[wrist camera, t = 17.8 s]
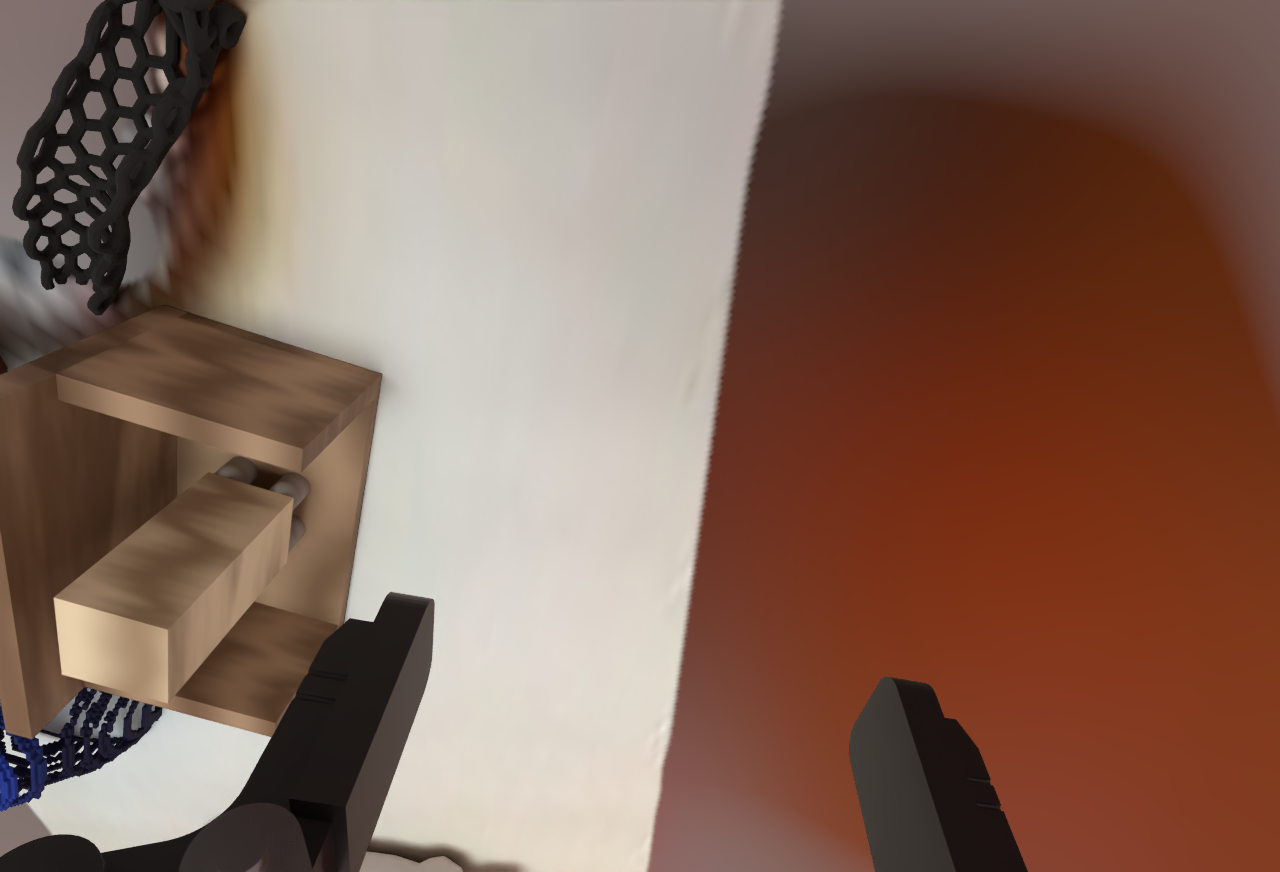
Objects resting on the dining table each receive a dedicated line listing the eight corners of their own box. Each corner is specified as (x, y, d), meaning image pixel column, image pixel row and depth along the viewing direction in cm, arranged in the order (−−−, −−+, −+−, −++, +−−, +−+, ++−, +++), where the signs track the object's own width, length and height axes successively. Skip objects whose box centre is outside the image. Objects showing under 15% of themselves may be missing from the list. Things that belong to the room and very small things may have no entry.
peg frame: (166, 580, 53) (6, 732, 41) (163, 305, 43) (-54, 397, 30) (342, 630, 54) (238, 793, 42) (382, 374, 44) (258, 490, 32)
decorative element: (135, 317, 44) (60, 350, 39) (55, 267, 43) (-33, 294, 37) (279, -19, 35) (207, -36, 30) (184, -95, 34) (91, -126, 28)
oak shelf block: (206, 538, 47) (61, 674, 36) (208, 472, 44) (53, 597, 34) (287, 562, 47) (168, 703, 36) (293, 498, 45) (167, 629, 34)
